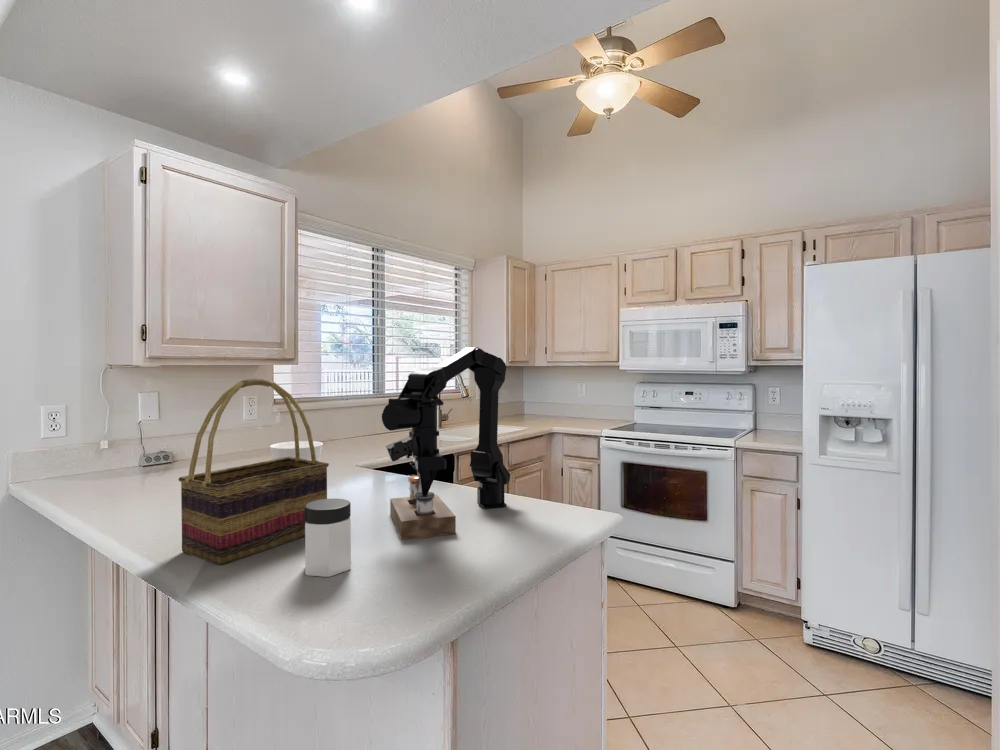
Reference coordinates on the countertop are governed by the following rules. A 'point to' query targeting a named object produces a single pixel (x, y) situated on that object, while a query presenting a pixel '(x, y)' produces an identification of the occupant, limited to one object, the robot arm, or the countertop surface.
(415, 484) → the copper capped plug
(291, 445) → the cup
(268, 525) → the basket
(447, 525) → the socket block
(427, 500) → the grey plug
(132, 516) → the countertop surface
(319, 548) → the jar
